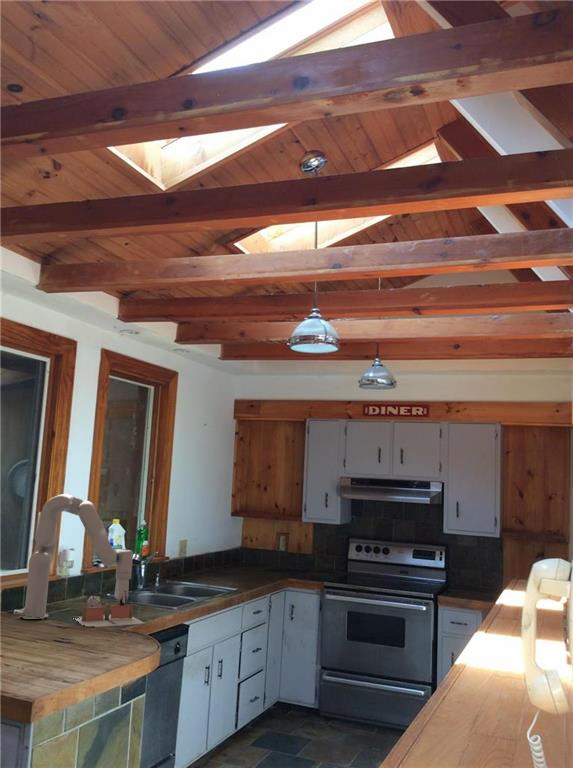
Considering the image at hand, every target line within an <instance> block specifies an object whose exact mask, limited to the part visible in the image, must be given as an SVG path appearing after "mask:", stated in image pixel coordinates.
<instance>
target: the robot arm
mask: <svg viewBox="0 0 573 768" xmlns="http://www.w3.org/2000/svg"><path fill="white" fill-rule="evenodd" d="M62 512H63V513H64V512H65V513H68V514H69V513H70V514H72V515H75V516H77V517H79V520H80V522H81V524H82V525H83V527H84V530H85V531H86V534H87V535H88V538H89V540H90V541H91V544H92V547H93V548H94V550H95V551H96V553H97V556H98V557H99V560H100V561H101V563H102V564H103V566H107V567H110V566H113V565H114V564H116V569H115V570H116V571H115V579H116V581H115V588H114V598H115V599H116V600H117V605H126V604H125V603H126V601H127V600H128V599H129V588H130V587H129V586H130V580H131V579H132V571H133V560H134V559H133V558H134V552H133V550H131V549H115V548H113V546H112V544H111V543H110V540H109V538H108V535H107V530H106V528H105V525H104V524H103V521H102V520H101V517H100V516H99V513H98V512H97V509H96V506H95V504H94V502H91V501H89V500H86V499H83V498H80V497H77V496H75V495H71V494H68V493H62V494H58V495H56V496H53V497H51V498H50V499H48V500H47V501H46V502H45V504H43V507H42V509H41V511H40V515H39V516H40V517H39V520H38V525H37V530H36V533H35V536H34V537H35V538H34V540H35V541H34V542H35V546H34V550H33V553H32V554H31V556H30V558H29V561H28V570H27V571H28V573H27V584H26V593H25V594H26V595H25V603H24V604H25V605H24V607H23V608H21V609H14V610H13V615H19V616H21V615H25V616H32V617H40V618H45V617H48V618H49V614H48V613H46V612H47V611H46V610H47V603H48V601H47V600H48V589H49V583H50V582H49V579H50V567H51V564H52V562H53V560H54V559H53V558H54V554H55V549H56V545H57V539H58V533H57V527H58V526H57V524H58V521H59V516H60V514H61V513H62Z"/></svg>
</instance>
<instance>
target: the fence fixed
mask: <svg viewBox="0 0 573 768" xmlns="http://www.w3.org/2000/svg"><path fill="white" fill-rule="evenodd" d="M110 609H111V604H110V603H106V604H105V606H100V607H87V605H84V606H83V605H82V609H81V610H82V611H81V612H82V613H81V617H82V620H81V621H91V620H103V618H104V615H105V620H108V619H109V615H110V613H111V610H110Z"/></svg>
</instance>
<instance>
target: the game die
mask: <svg viewBox="0 0 573 768" xmlns="http://www.w3.org/2000/svg"><path fill="white" fill-rule="evenodd" d="M84 603H86V606H87V608H88V607H102V606H103V605H104V604H103V603H102V600H101V594H100V595H99V596H98V595H92V594H90V595H89V598H88V599H87V600H86V601H84Z"/></svg>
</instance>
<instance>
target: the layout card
mask: <svg viewBox="0 0 573 768" xmlns="http://www.w3.org/2000/svg"><path fill="white" fill-rule="evenodd" d="M78 617H79V618H80V619H79V618H77V619H76V618H75V620H76V621H75V620H74V618H73V619H72V620H74V621H75V622H77V621H78V622H79V623H78V622H77V623H78V624H80V625H81V626H83V625H85V626H95V628H106V627H107V628H108V627H118V626H122V627H123V626H133V625H145V624H146V622H144V621H142V620H140V619H138V618H136V617H134V616H132V618H114V619H111V614H109V619H108V620H105V614H104V618H103V620H91V621H81V620H82V616H78Z"/></svg>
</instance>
